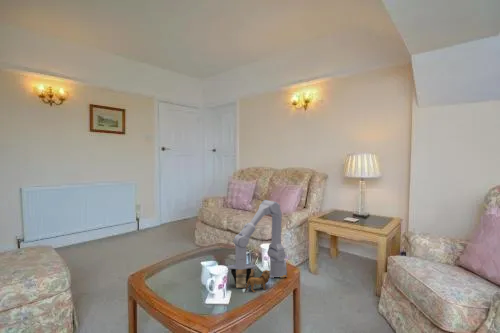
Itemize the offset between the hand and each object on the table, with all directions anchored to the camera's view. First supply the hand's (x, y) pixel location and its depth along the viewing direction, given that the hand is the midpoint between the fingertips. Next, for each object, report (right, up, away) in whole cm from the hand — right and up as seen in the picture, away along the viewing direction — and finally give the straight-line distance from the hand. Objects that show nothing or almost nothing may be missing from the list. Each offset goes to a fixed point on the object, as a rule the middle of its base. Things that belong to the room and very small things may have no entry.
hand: (241, 282), depth 139 cm
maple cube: (0, -1, 0) cm, 1 cm away
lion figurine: (+9, -2, -3) cm, 10 cm away
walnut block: (+2, -2, +11) cm, 11 cm away
